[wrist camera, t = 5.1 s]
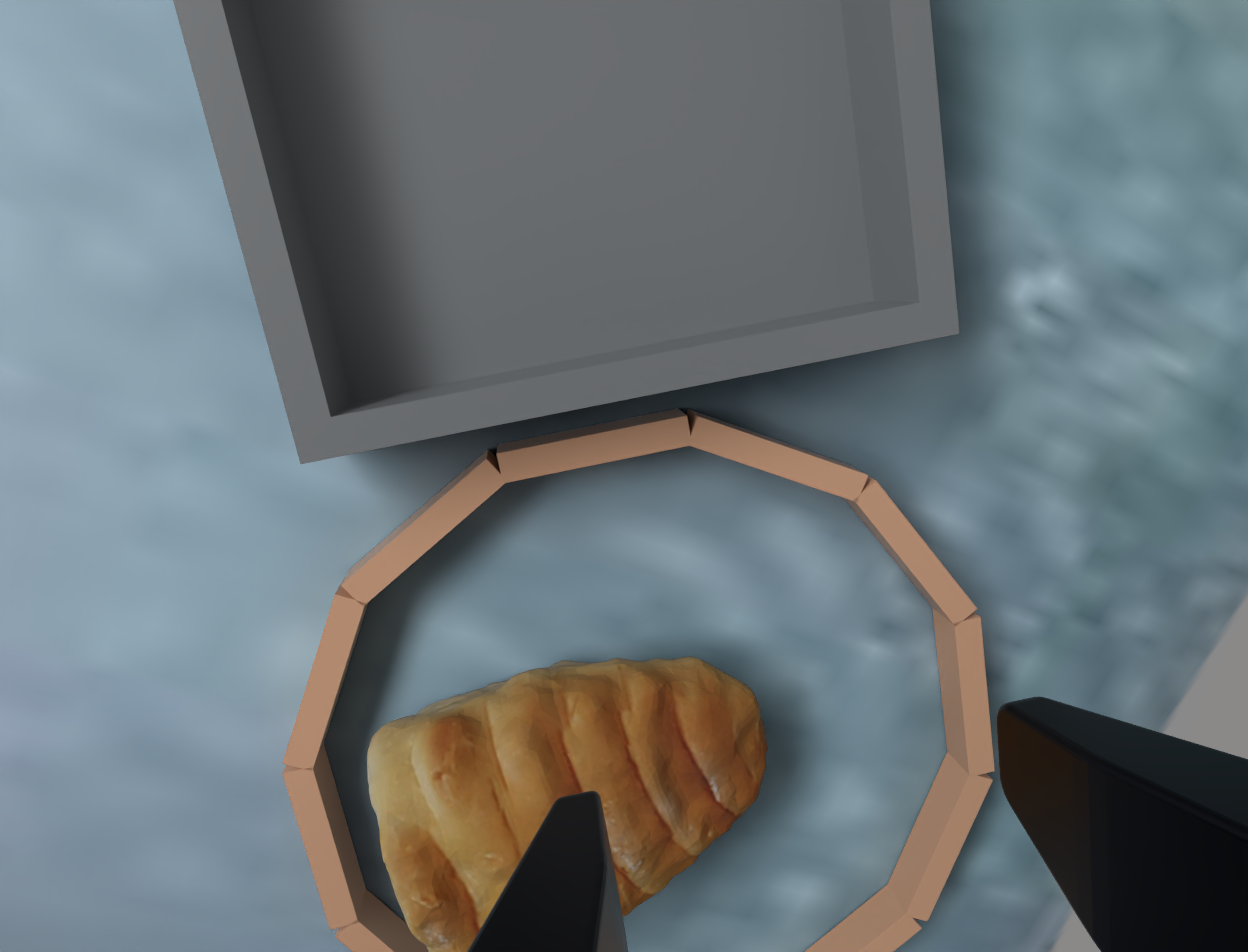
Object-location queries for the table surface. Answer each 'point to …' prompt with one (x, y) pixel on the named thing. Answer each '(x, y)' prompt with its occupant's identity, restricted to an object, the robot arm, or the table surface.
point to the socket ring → (962, 780)
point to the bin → (569, 198)
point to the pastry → (560, 780)
